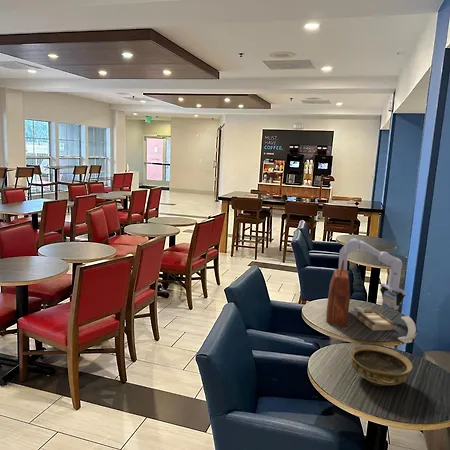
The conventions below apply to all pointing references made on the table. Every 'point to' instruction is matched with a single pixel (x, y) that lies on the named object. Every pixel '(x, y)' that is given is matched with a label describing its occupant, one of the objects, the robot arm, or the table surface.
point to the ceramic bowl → (380, 364)
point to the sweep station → (374, 320)
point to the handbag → (338, 298)
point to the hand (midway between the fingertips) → (390, 302)
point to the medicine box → (390, 300)
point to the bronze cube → (368, 310)
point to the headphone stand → (410, 330)
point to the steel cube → (358, 309)
